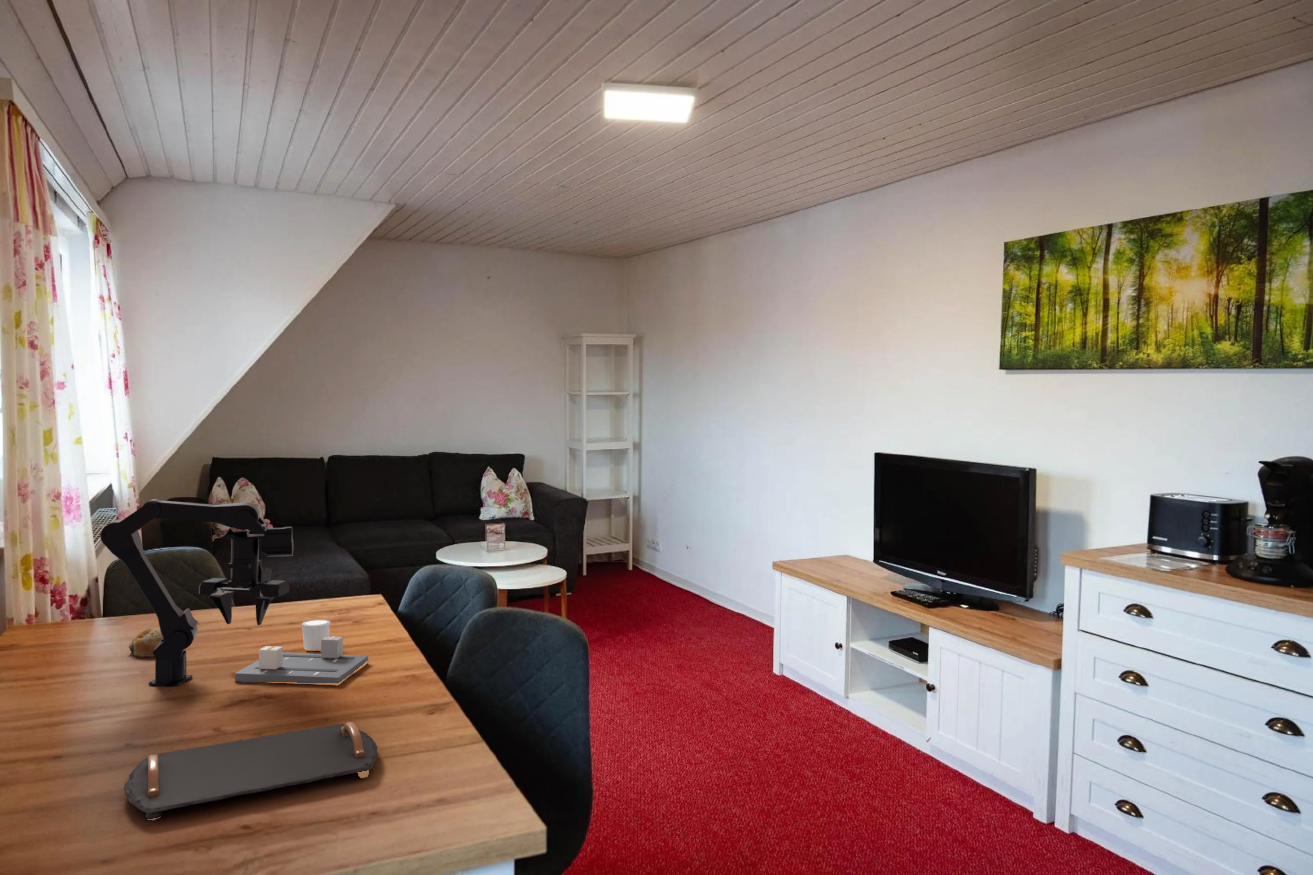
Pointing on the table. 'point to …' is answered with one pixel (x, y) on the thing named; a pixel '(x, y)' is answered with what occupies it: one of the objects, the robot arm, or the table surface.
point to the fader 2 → (331, 647)
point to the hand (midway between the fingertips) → (244, 624)
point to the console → (304, 669)
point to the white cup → (315, 633)
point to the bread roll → (145, 642)
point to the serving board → (247, 767)
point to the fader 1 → (270, 657)
